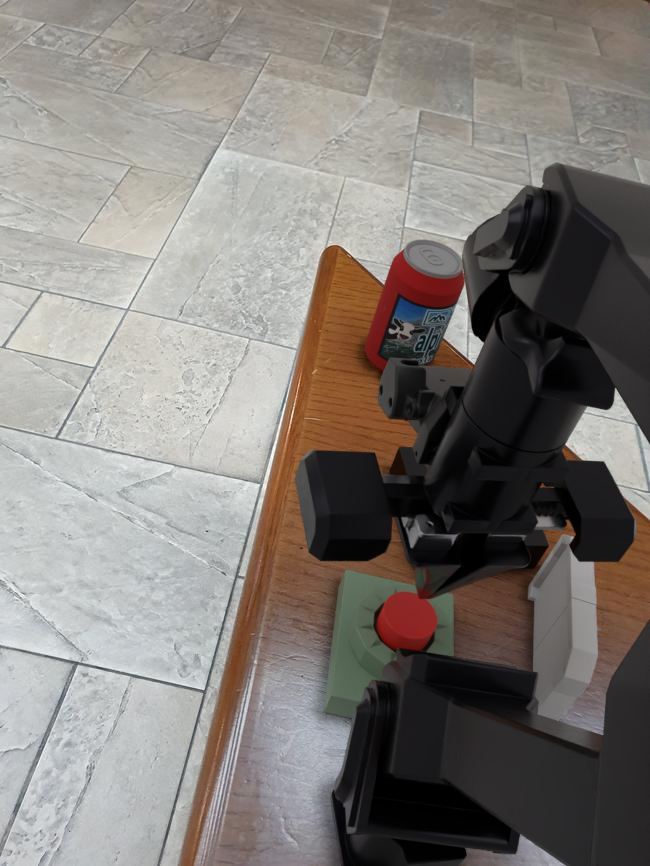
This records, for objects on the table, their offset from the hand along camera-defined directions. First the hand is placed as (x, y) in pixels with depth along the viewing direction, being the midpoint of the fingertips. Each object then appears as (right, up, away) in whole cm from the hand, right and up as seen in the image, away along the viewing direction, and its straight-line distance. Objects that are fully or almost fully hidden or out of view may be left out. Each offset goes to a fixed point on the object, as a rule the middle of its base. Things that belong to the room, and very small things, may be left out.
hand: (422, 592), depth 53 cm
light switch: (+9, -6, +9) cm, 14 cm away
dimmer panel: (+5, +3, +16) cm, 17 cm away
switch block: (-2, -5, +5) cm, 8 cm away
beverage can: (+1, +17, +30) cm, 34 cm away
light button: (-1, -3, +3) cm, 4 cm away
